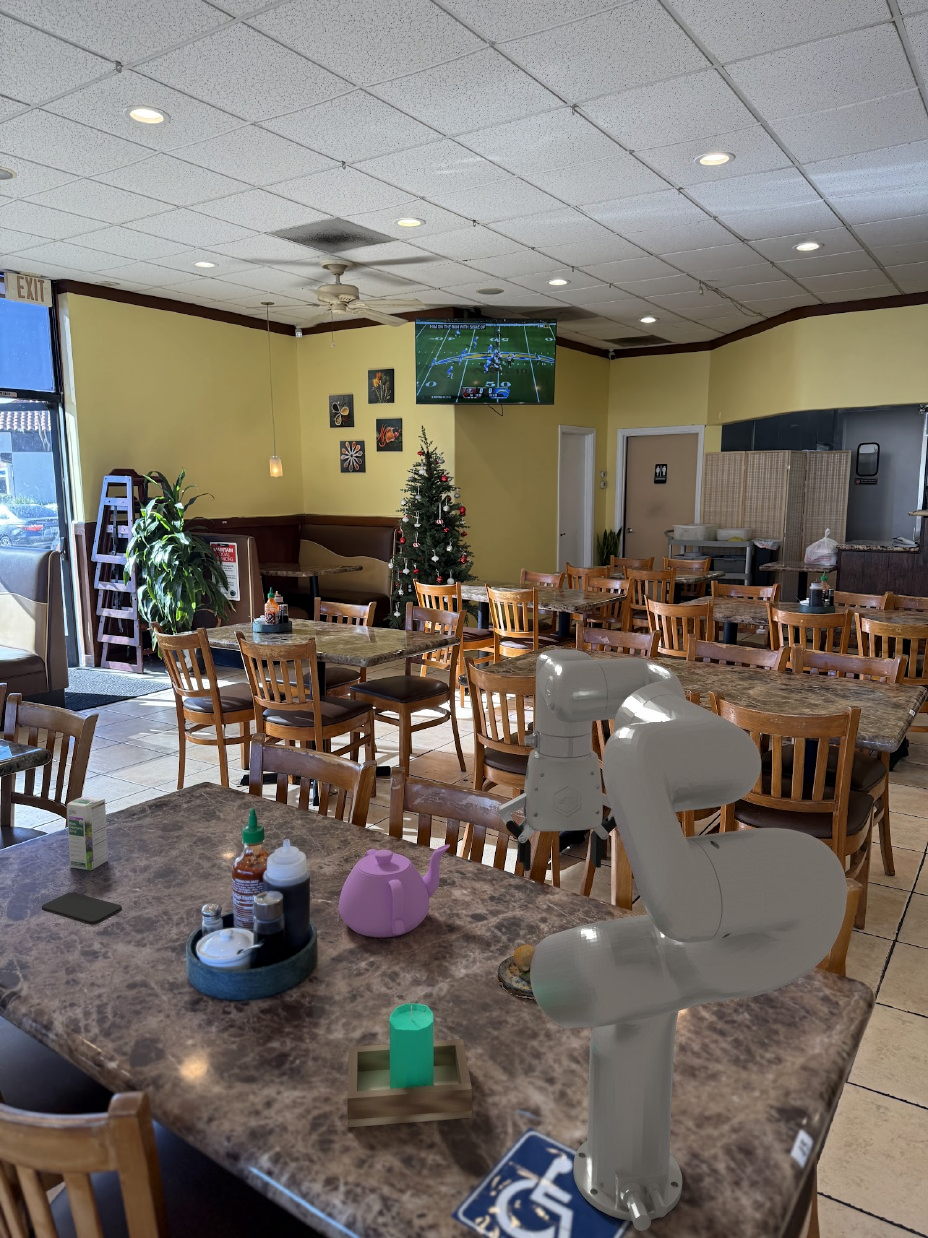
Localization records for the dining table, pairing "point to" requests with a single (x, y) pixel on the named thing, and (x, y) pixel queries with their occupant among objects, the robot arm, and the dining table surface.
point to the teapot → (388, 893)
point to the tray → (414, 1104)
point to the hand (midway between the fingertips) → (560, 865)
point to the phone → (82, 907)
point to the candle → (411, 1046)
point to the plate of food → (517, 972)
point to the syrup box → (87, 833)
